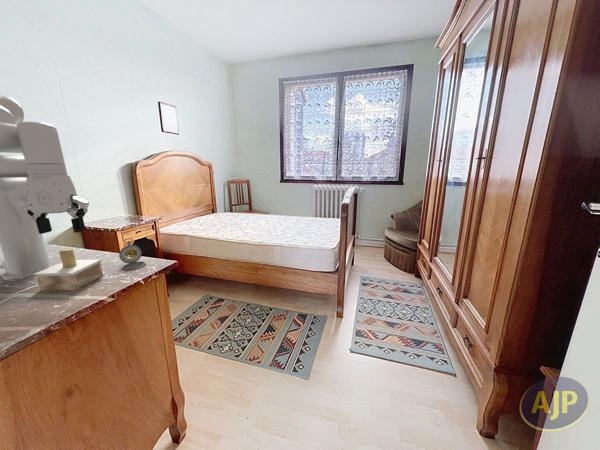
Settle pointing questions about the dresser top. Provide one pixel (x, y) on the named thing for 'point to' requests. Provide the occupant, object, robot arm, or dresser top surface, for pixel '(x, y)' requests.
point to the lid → (68, 265)
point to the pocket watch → (129, 252)
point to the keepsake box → (70, 279)
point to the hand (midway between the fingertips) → (62, 232)
